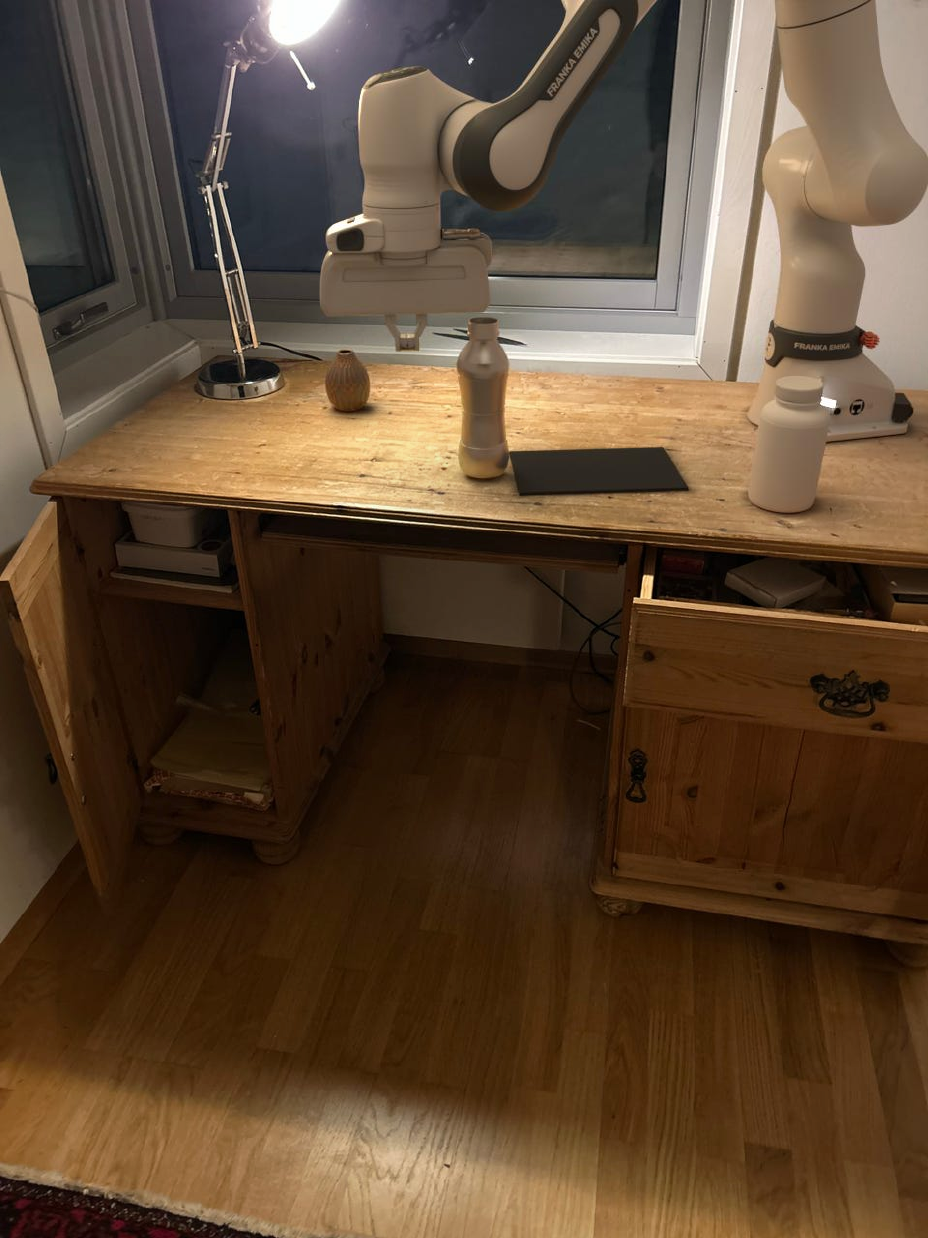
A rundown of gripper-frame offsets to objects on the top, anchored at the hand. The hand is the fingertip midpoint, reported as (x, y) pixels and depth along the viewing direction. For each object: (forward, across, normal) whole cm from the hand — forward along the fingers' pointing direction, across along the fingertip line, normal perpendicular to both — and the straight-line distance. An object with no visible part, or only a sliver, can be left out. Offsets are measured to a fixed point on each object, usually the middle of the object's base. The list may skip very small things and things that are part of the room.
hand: (407, 350), depth 117 cm
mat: (+17, -24, 0) cm, 29 cm away
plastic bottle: (+17, -9, 0) cm, 19 cm away
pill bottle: (+17, -45, +11) cm, 50 cm away
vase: (+17, +10, -28) cm, 34 cm away
